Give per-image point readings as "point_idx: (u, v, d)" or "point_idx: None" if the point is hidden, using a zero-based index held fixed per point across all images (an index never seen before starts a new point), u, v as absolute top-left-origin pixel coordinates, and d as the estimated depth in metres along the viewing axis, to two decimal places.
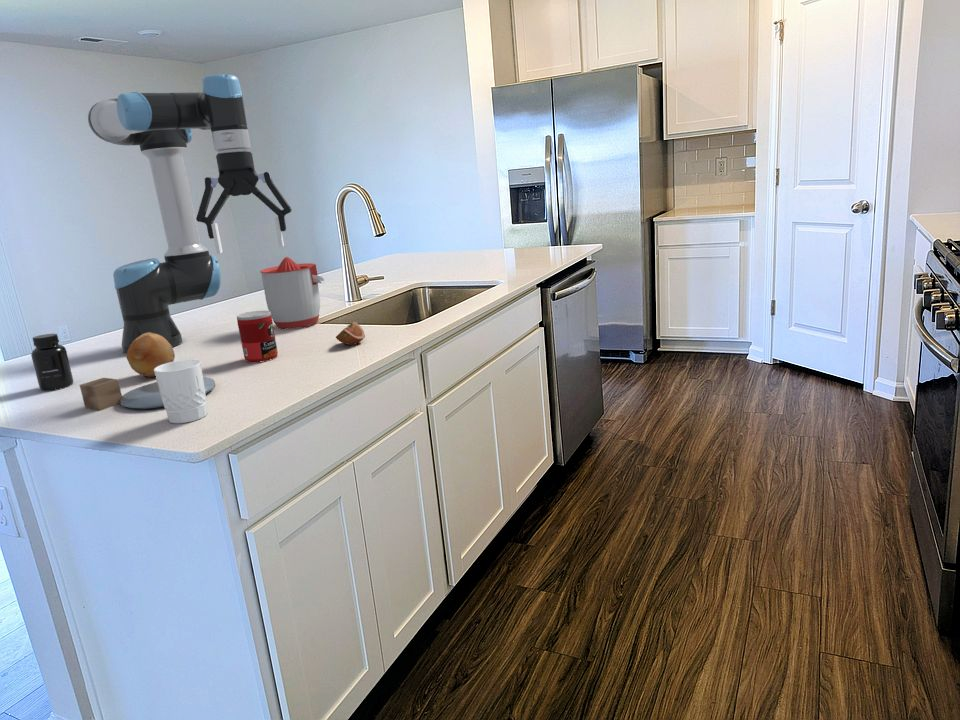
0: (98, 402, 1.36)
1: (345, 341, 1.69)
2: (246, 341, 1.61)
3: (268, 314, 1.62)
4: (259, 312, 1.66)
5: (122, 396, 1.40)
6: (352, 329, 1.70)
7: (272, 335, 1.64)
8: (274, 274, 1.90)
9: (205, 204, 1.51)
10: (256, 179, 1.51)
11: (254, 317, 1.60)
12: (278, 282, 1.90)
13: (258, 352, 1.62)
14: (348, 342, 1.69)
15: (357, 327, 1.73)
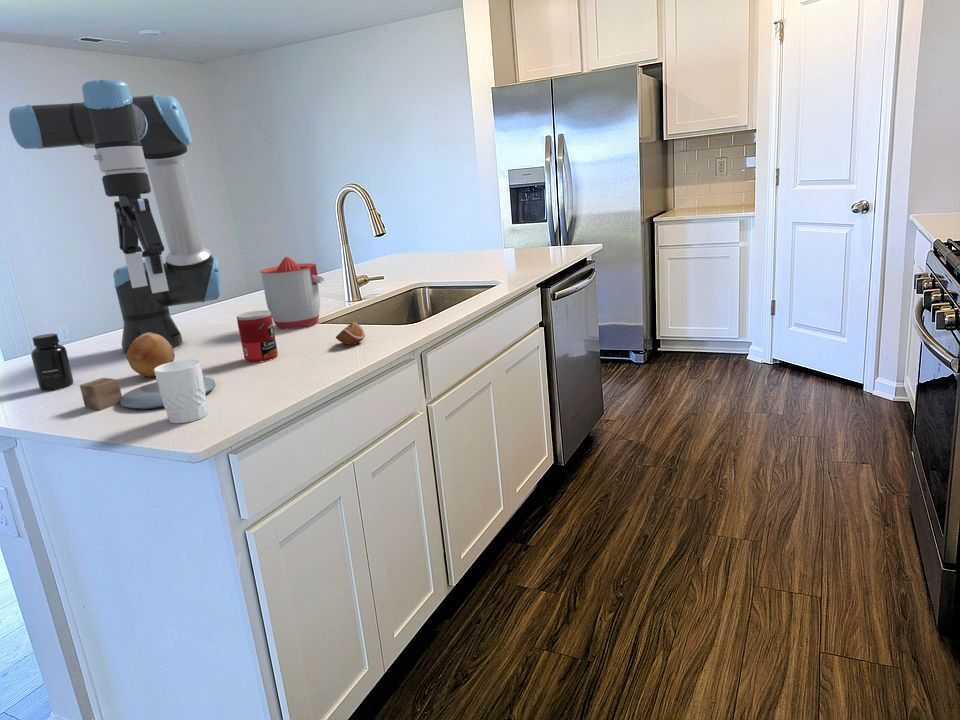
0: (98, 402, 1.36)
1: (345, 341, 1.69)
2: (246, 341, 1.61)
3: (268, 314, 1.62)
4: (259, 312, 1.66)
5: (122, 396, 1.40)
6: (352, 329, 1.70)
7: (272, 335, 1.64)
8: (274, 274, 1.90)
9: (119, 231, 1.32)
10: (132, 208, 1.22)
11: (254, 317, 1.60)
12: (278, 282, 1.90)
13: (258, 352, 1.62)
14: (348, 342, 1.69)
15: (357, 327, 1.73)
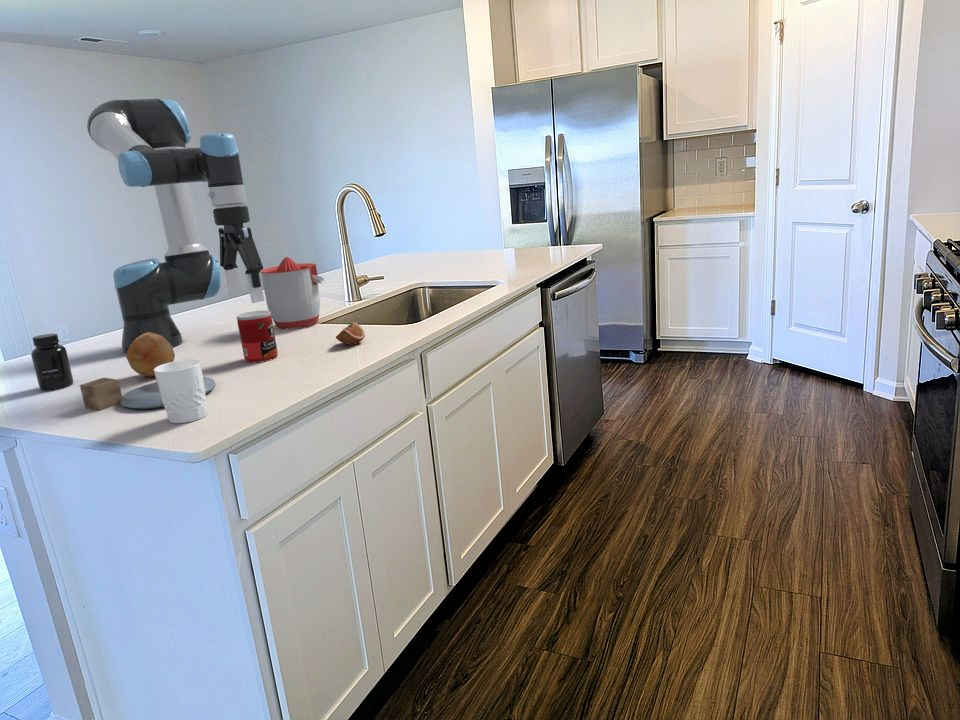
0: (98, 402, 1.36)
1: (345, 341, 1.69)
2: (246, 341, 1.61)
3: (268, 314, 1.62)
4: (259, 312, 1.66)
5: (122, 396, 1.40)
6: (352, 329, 1.70)
7: (272, 335, 1.64)
8: (274, 274, 1.90)
9: (221, 252, 1.63)
10: (237, 234, 1.53)
11: (254, 317, 1.60)
12: (278, 282, 1.90)
13: (258, 352, 1.62)
14: (348, 342, 1.69)
15: (357, 327, 1.73)
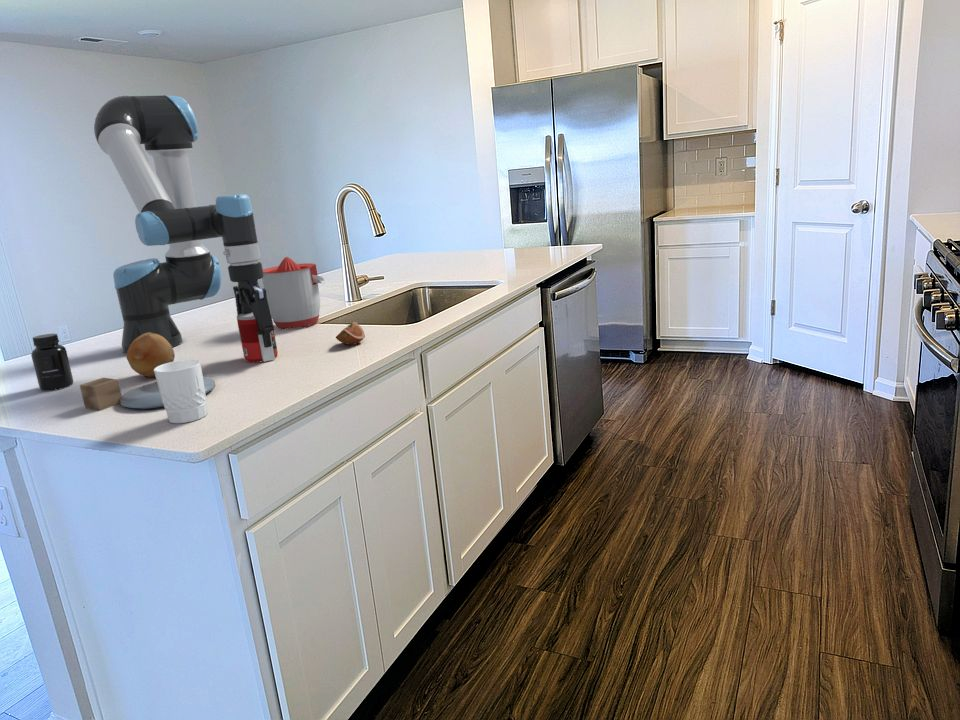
0: (98, 402, 1.36)
1: (345, 341, 1.69)
2: (246, 341, 1.61)
3: None
4: None
5: (122, 396, 1.40)
6: (352, 329, 1.70)
7: (272, 335, 1.63)
8: (274, 274, 1.90)
9: (238, 310, 1.67)
10: (252, 292, 1.58)
11: (254, 317, 1.60)
12: (278, 282, 1.90)
13: (257, 352, 1.62)
14: (348, 342, 1.69)
15: (357, 327, 1.73)
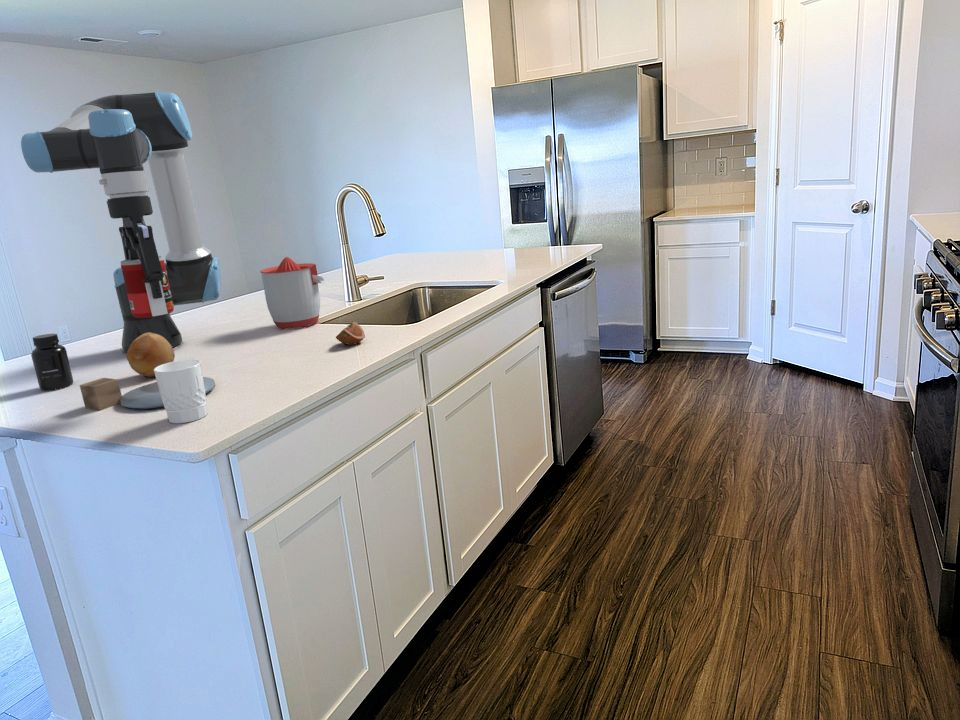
0: (98, 402, 1.36)
1: (345, 341, 1.69)
2: (132, 291, 1.33)
3: (159, 259, 1.34)
4: None
5: (122, 396, 1.40)
6: (352, 329, 1.70)
7: (165, 285, 1.35)
8: (274, 274, 1.90)
9: (126, 256, 1.38)
10: (135, 230, 1.30)
11: (140, 261, 1.31)
12: (278, 282, 1.90)
13: (146, 305, 1.33)
14: (348, 342, 1.69)
15: (357, 327, 1.73)
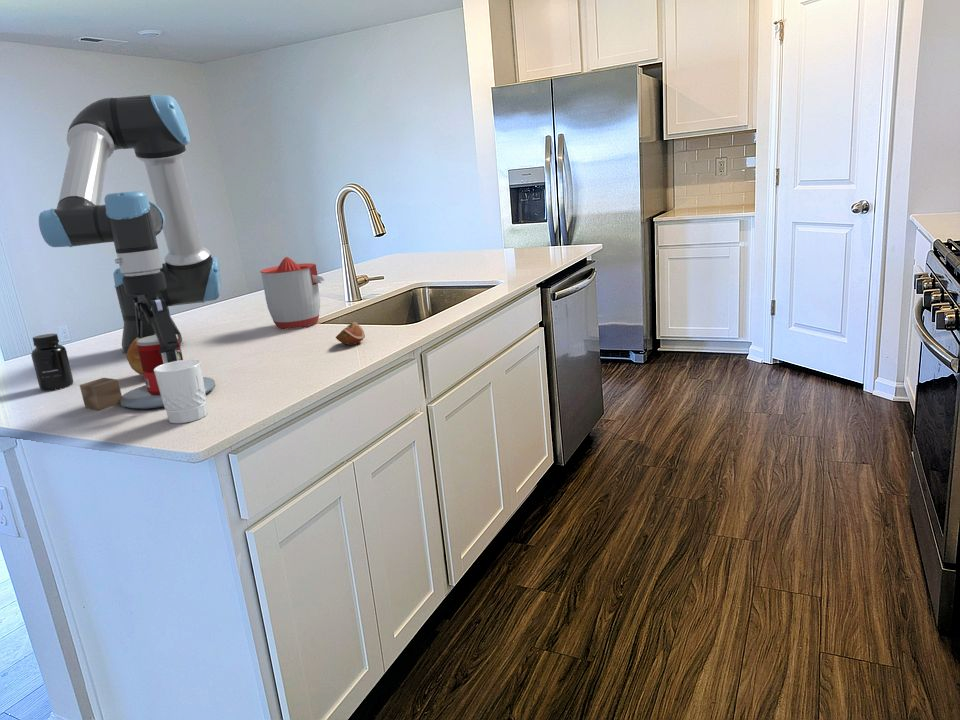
0: (98, 402, 1.36)
1: (345, 341, 1.69)
2: (147, 370, 1.37)
3: None
4: None
5: (122, 396, 1.40)
6: (352, 329, 1.70)
7: None
8: (274, 274, 1.90)
9: (137, 322, 1.43)
10: (150, 306, 1.33)
11: (155, 342, 1.35)
12: (278, 282, 1.90)
13: None
14: (348, 342, 1.69)
15: (357, 327, 1.73)
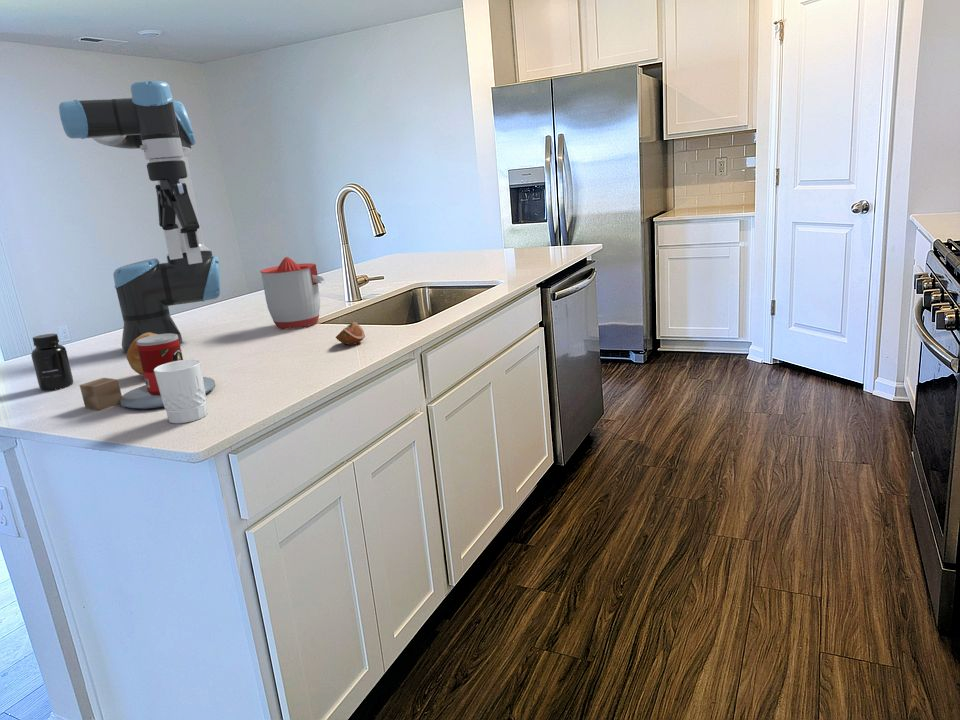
0: (98, 402, 1.36)
1: (345, 341, 1.69)
2: (147, 370, 1.37)
3: (174, 338, 1.38)
4: (165, 335, 1.41)
5: (122, 396, 1.40)
6: (352, 329, 1.70)
7: None
8: (274, 274, 1.90)
9: (159, 211, 1.53)
10: (172, 191, 1.43)
11: (155, 342, 1.35)
12: (278, 282, 1.90)
13: None
14: (348, 342, 1.69)
15: (357, 327, 1.73)
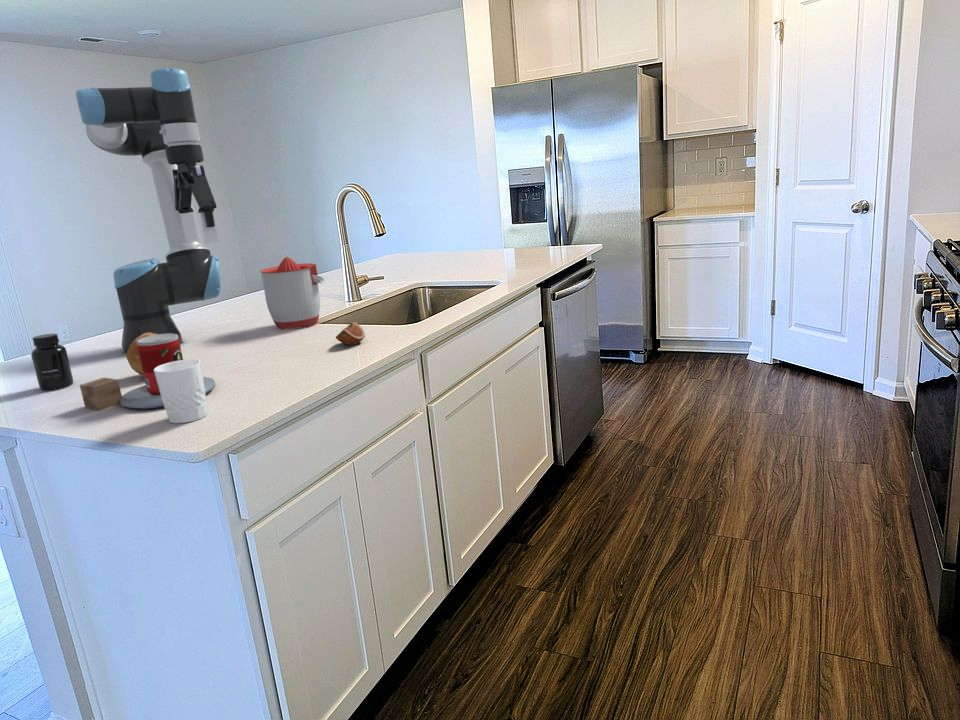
0: (98, 402, 1.36)
1: (345, 341, 1.69)
2: (147, 370, 1.37)
3: (174, 338, 1.38)
4: (165, 335, 1.41)
5: (122, 396, 1.40)
6: (352, 329, 1.70)
7: None
8: (274, 274, 1.90)
9: (176, 195, 1.60)
10: (190, 173, 1.50)
11: (155, 342, 1.35)
12: (278, 282, 1.90)
13: None
14: (348, 342, 1.69)
15: (357, 327, 1.73)
